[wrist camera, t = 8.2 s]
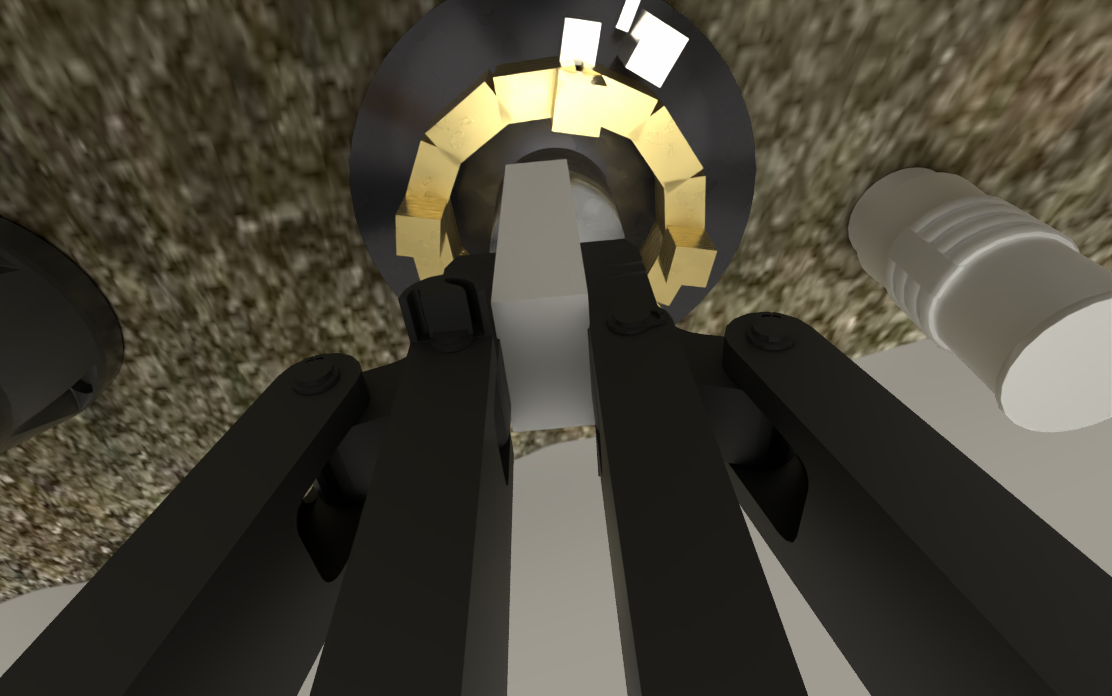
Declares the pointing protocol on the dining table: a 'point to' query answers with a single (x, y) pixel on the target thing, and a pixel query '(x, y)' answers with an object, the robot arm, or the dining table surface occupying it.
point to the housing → (593, 162)
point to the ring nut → (574, 108)
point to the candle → (994, 293)
